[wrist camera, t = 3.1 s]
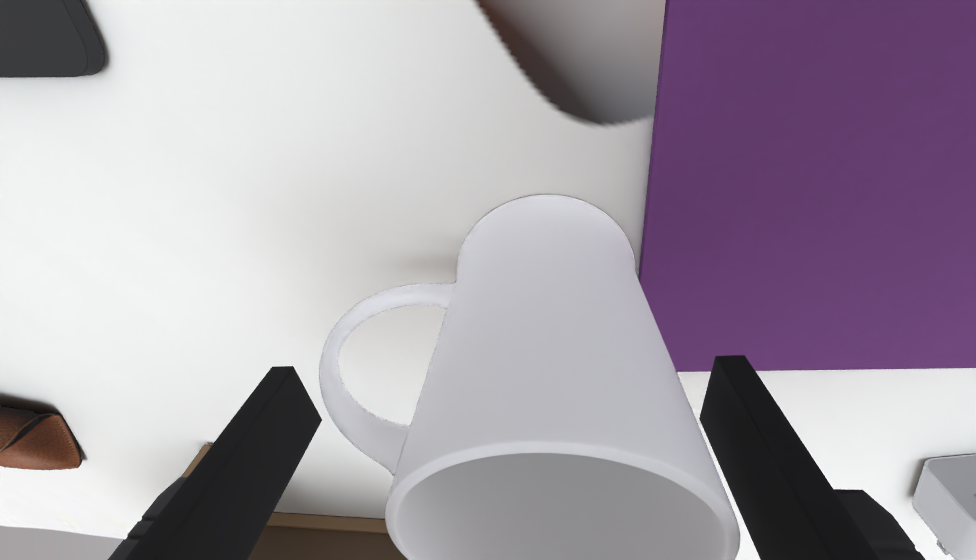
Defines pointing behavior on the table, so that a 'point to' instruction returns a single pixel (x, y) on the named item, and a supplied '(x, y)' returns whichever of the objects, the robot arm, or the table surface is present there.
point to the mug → (541, 406)
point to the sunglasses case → (36, 441)
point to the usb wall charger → (949, 503)
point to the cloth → (814, 184)
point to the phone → (47, 39)
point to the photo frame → (319, 536)
